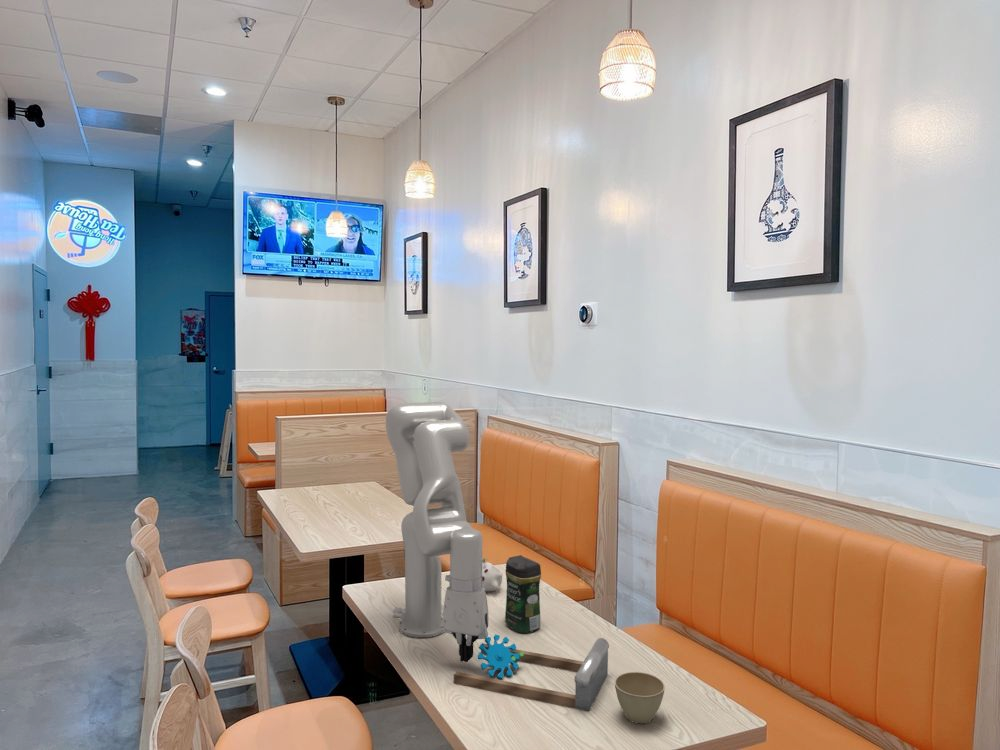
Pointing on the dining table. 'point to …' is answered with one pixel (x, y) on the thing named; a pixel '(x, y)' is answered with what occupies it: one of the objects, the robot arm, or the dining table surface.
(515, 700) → the dining table surface
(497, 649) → the gear
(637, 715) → the flower pot
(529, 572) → the coffee jar
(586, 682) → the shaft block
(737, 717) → the dining table surface
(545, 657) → the guide
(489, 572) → the cat figurine
